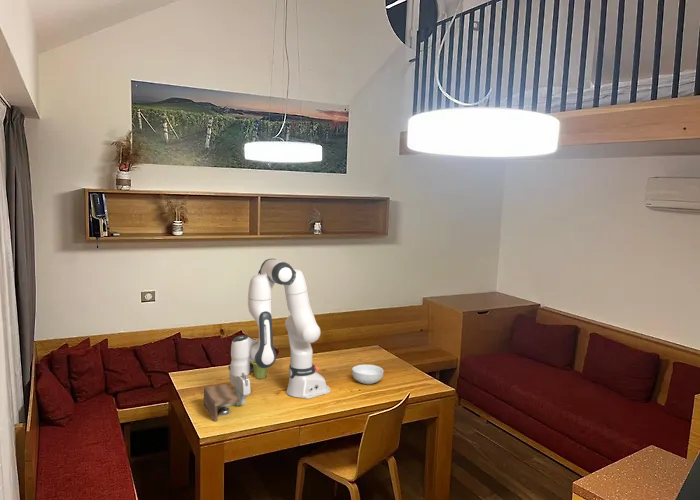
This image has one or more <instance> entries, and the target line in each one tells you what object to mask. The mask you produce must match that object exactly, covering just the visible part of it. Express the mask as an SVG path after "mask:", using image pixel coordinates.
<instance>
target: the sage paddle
mask: <svg viewBox="0 0 700 500" xmlns="http://www.w3.org/2000/svg"><path fill="white" fill-rule="evenodd" d="M233 391H234V392H235V393H236V394H237V396H238V397H239V398H240V402H237V403H232V404H226V405H220V406H218V407H217V409H219V408H221V407H229V406H235V405H236V406H241V405H242V406H243V405H245V404H246V401H245V402H241V397H242V395H241V393H240V392H239V391H238V390H237V389H236V388H234V387H233Z"/></svg>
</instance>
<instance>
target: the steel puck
mask: <svg viewBox="0 0 700 500" xmlns="http://www.w3.org/2000/svg"><path fill="white" fill-rule="evenodd" d="M229 414H230V408H229V406H224V407H219V408H217V415H219V416H229Z"/></svg>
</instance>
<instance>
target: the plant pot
mask: <svg viewBox="0 0 700 500" xmlns="http://www.w3.org/2000/svg"><path fill="white" fill-rule="evenodd" d="M252 364H253V367H254V371H253V374H254V378H255V379H260V380H262V379H266V378H267V372H268V368H261V367H259V366H258V365H257V364H256V363H255V362H254V361H252Z"/></svg>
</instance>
